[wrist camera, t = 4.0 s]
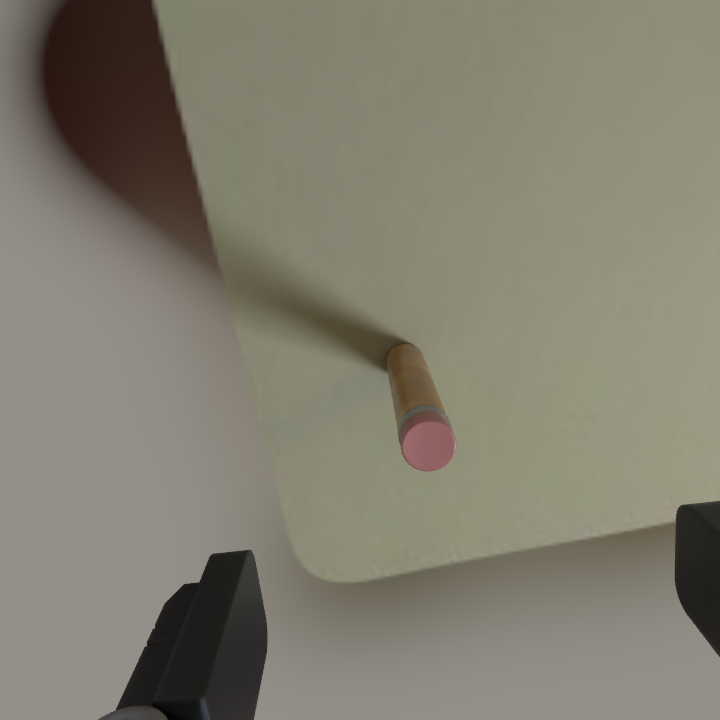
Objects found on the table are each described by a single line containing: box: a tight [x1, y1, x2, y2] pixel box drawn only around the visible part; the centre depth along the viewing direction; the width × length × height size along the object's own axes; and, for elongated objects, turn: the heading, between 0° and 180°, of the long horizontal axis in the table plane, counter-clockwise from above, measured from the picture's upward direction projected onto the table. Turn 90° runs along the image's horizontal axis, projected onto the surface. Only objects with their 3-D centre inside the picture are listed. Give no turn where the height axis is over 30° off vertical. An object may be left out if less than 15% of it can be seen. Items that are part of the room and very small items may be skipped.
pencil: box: [386, 344, 456, 471], centre depth 22 cm, size 2×2×9 cm
